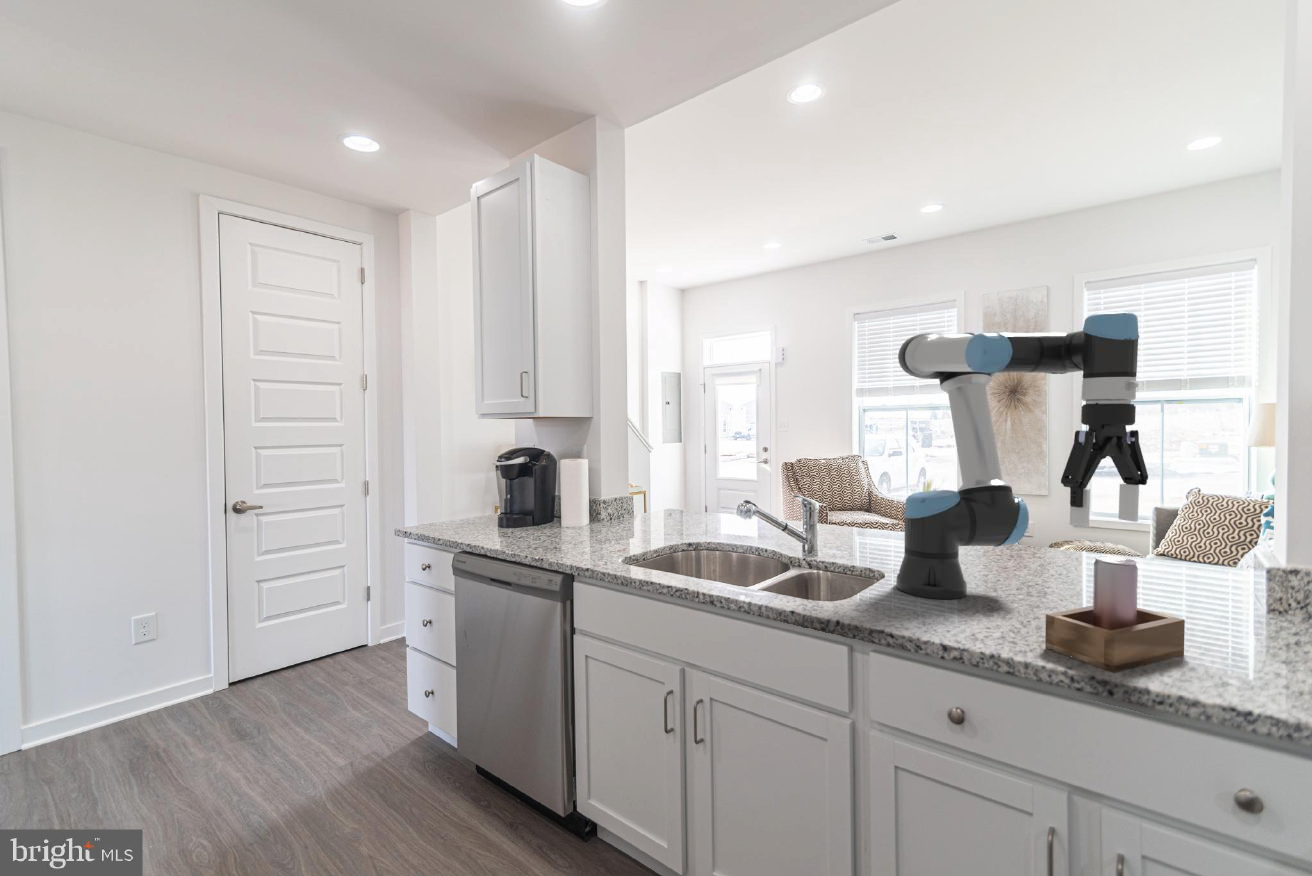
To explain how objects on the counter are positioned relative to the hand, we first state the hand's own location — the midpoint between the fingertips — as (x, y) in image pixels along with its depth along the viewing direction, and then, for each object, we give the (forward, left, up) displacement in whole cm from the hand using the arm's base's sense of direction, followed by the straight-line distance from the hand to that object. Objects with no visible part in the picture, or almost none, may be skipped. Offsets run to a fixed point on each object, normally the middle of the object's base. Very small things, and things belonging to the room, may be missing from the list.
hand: (1104, 523), depth 104 cm
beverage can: (+2, -1, -21) cm, 21 cm away
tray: (+2, -1, -22) cm, 22 cm away
